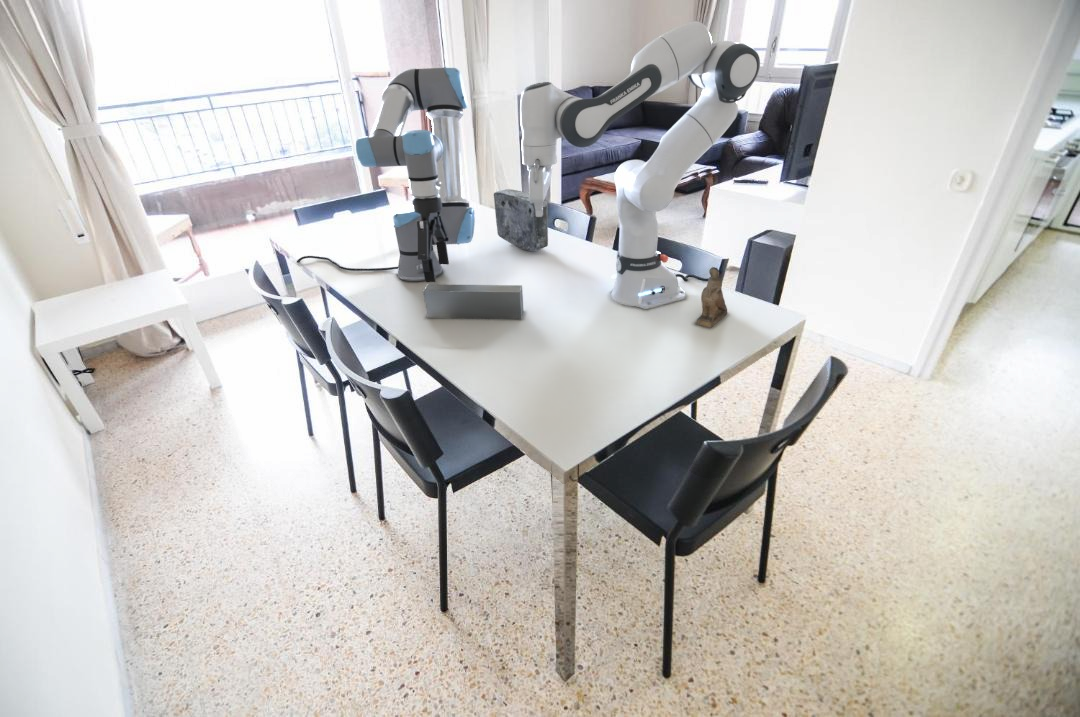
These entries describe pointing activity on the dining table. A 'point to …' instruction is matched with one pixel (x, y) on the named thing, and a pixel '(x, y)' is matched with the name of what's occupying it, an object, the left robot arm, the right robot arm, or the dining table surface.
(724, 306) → the brown carved statuette
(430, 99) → the left robot arm
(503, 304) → the bar
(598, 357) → the dining table surface
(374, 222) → the dining table surface
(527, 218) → the concrete block
